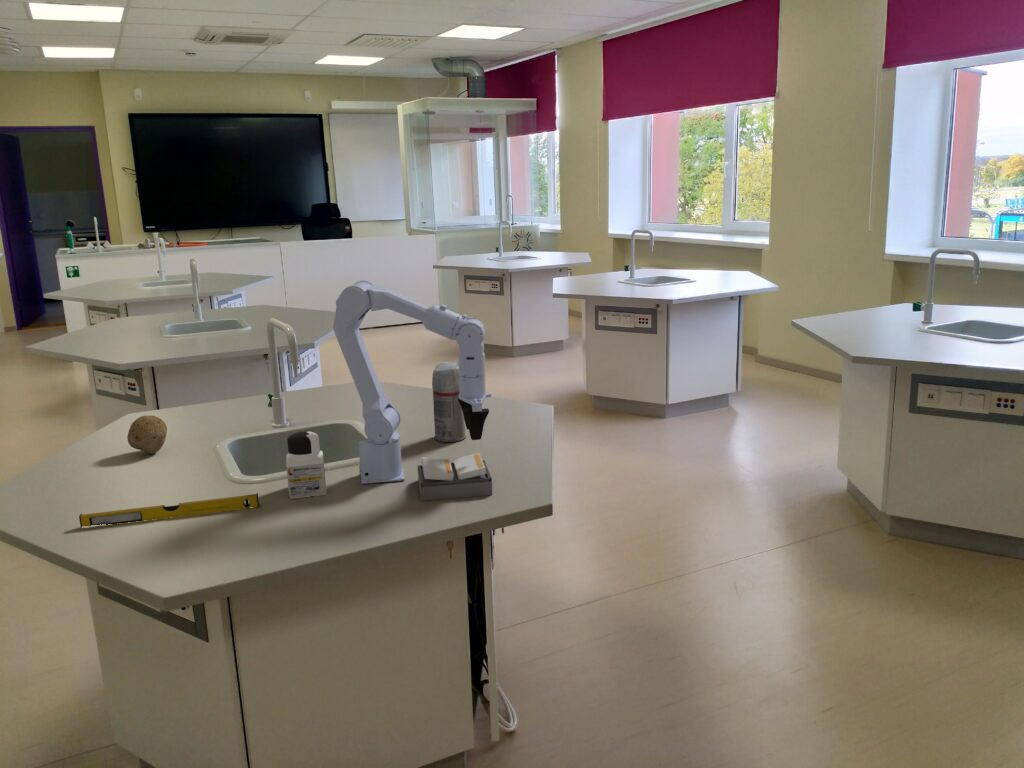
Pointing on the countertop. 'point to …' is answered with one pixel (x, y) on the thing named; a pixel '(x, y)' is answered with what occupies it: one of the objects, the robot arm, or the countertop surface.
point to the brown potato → (147, 434)
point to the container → (305, 466)
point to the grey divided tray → (454, 486)
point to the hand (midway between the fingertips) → (473, 434)
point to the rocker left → (437, 469)
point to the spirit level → (169, 510)
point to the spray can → (447, 403)
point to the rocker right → (469, 466)
